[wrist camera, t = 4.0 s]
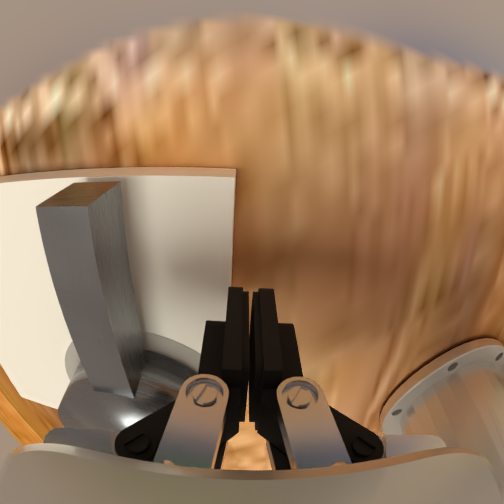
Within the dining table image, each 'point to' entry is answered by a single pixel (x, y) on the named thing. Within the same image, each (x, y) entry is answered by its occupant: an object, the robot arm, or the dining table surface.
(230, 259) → the dial base
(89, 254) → the dial
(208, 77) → the dining table surface
